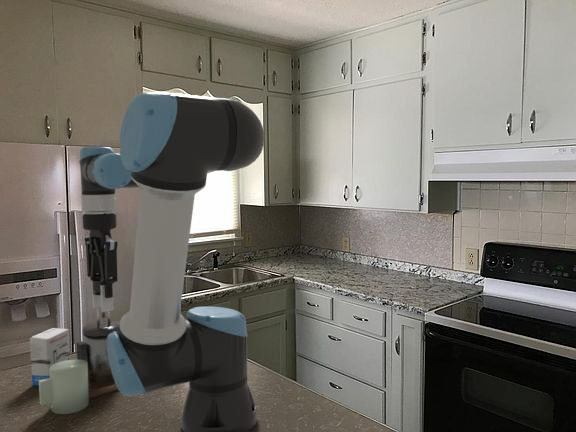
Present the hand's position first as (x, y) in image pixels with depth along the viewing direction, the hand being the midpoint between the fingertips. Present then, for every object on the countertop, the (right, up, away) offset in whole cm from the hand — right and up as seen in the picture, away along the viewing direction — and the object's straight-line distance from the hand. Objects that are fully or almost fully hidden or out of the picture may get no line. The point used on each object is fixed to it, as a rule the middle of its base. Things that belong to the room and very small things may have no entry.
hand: (103, 308), depth 119 cm
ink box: (-14, -18, +3) cm, 23 cm away
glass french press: (0, -18, +1) cm, 18 cm away
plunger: (0, -2, 0) cm, 2 cm away
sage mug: (-4, -19, -12) cm, 23 cm away
